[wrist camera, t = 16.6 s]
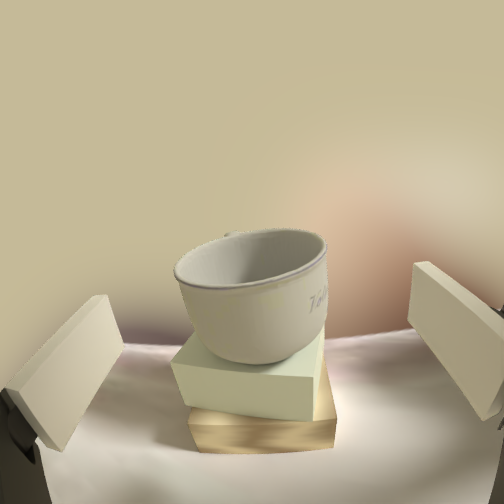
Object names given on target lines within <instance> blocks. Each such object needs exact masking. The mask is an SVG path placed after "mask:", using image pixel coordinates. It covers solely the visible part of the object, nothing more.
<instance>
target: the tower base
mask: <svg viewBox="0 0 504 504" xmlns="http://www.w3.org/2000/svg"><path fill="white" fill-rule="evenodd" d="M336 424H337V415H336V410H335V405H334V400H333V396H332V391H331V386H330V382H329V377H328V372H327V368H326V364H325V359H324V355H323V357H322V365H321V373H320V380H319V387H318V393H317V400H316V406H315V412H314V418H313V422H307V421H291V420H279V419H269V418H260V417H251V416H244V415H237V414H230V413H224V412H218V411H212V410H207V409H201V408H196V407H192V409H191V412H190V416H189V419H188V422H187V425H188V427H189V429H190V432H191V434H192V436H193V439H194V441H195V443H196V445H197V448H198V450H199V452H200V453H219V454H269V453H287V452H300V451H311V450H320V449H328V448H333V447H334V440H335V432H336Z"/></svg>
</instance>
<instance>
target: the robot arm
mask: <svg viewBox="0 0 504 504" xmlns="http://www.w3.org/2000/svg"><path fill="white" fill-rule="evenodd" d="M408 321H409V322H410V324H411V325H412V326H413V327H414V329H415V330H416V331H417V333H418V334H419V335H420V336H421V338H422V339H423V340H424V341H425V343H426V344H427V345H428V347H429V348H430V349H431V350H432V352H433V353H434V354H435V356H436V357H437V358H438V360H439V361H440V362H441V364H442V365H443V366H444V368H445V369H446V370H447V372H448V373H449V374H450V376H451V377H452V379H453V380H454V381H455V383H456V384H457V386H458V387H459V388H460V390H461V391H462V393H463V394H464V395H465V397H466V398H467V400H468V401H469V403H470V404H471V406H472V407H473V409H474V410H475V412H476V413H477V415H478V416H479V418H480V419H481V421H482V422H483V421H485V420H487V419H489V418H491V417H493V416H495V415H497V414H498V413H499V412H500V410H501V408H502V407H503V405H504V305H503V307H502V309H501V310H500V311H498V310H496V309H494V308H492V307H489V306H487V305H486V304H485V303H483V302H482V301H481V300H480V299H478V298H477V297H476V296H475V295H473V294H472V293H471V292H469V291H468V290H467V289H465V288H464V287H463V286H462V285H460V284H459V283H457V282H456V281H455V280H454V279H452V278H451V277H449V276H448V275H446V274H445V273H444V272H442V271H441V270H440V269H438V268H437V267H436V266H434V265H433V264H431V263H430V262H429V261H426V262H418V263H413V275H412V286H411V296H410V305H409V313H408ZM124 348H125V346H124V343H123V341H122V338H121V335H120V332H119V329H118V327H117V324H116V321H115V318H114V315H113V312H112V309H111V306H110V303H109V299H108V296H107V295H95V296H93V297H91V298H90V299H89V300H88V301H87V302H86V303H85V304H84V305H83V306H82V307H81V308H80V309H79V310H78V311H77V312H76V313H75V314H74V315H73V316H72V317H71V318H70V319H69V320H68V321H67V322H66V323H64V324H63V325H62V327H60V328H59V329H58V330H57V332H55V333H54V335H53V336H52V337H51V338H50V339H49V340H48V341H47V342H46V343H45V344H44V345H43V346H42V347H41V348H40V349H39V350H38V351H37V352H36V353H35V354H34V355H33V357H32V358H31V359H29V361H28V362H27V363H26V364H25V365H24V366H23V367H22V368H21V369H20V370H19V372H18V373H17V374H16V375H15V376H14V377H13V378H12V379H11V380H10V381H9V383H8V384H7V385H6V386H5V387H4V389H3V390H2V391H1V392H0V504H52V502H51V498H50V495H49V491H48V487H47V483H46V479H45V475H44V470H43V466H42V461H41V456H40V450H39V447H38V445H37V444H36V443H35V440H36V438H37V436H38V437H39V438H40V439H41V441H42V442H43V443H44V444H45V446H46V447H48V448H51V449H54V450H57V451H60V452H63V450H64V448H65V446H66V444H67V443H68V441H69V439H70V437H71V435H72V434H73V432H74V430H75V428H76V427H77V425H78V423H79V421H80V420H81V418H82V416H83V415H84V413H85V411H86V409H87V408H88V406H89V404H90V403H91V401H92V399H93V398H94V396H95V394H96V393H97V391H98V389H99V388H100V386H101V384H102V383H103V381H104V379H105V378H106V376H107V375H108V373H109V371H110V370H111V368H112V367H113V365H114V363H115V362H116V360H117V359H118V357H119V355H120V354H121V352H122V351H123V349H124ZM503 425H504V418H503V420H502V421H501V423H500V425H499V427H498V430H501V428H502V427H503ZM488 504H504V439H503V445H502V451H501V456H500V461H499V466H498V470H497V474H496V478H495V482H494V486H493V490H492V493H491V496H490V500H489V503H488Z"/></svg>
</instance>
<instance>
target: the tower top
mask: <svg viewBox="0 0 504 504" xmlns="http://www.w3.org/2000/svg"><path fill="white" fill-rule="evenodd" d="M323 349H324V325H323V327H322V329H321V331H320V333H319V334H318V335H317V336H316V338H315V339H314V340H313V341H312V342H311V343H310V344H309V345H307V346H306V347H305V348H303V349H302V350H300V351H299V352H297V353H295V354H293V355H292V356H290V357H288V358H286V359H284V360H281V361H278V362H274V363H270V364H262V365H252V364H244V363H239V362H233V361H230V360H226V359H224V358H222V357H219V356H218V355H216V354H214V353H213V352H211V351H210V350H209V349H207V348H206V346H205V345H204V344H203V343H202V342H201V340H200V339H199V337H198V336H197V334H196V332H194V333H193V334H192V335H191V337H190V338H189V339H188V340H187V342H186V343H185V344H184V345H183V347H182V348H181V349H180V350H179V352H178V353H177V354H176V355H175V357H174V358H173V359H172V360H171V362H170V364H171V367H172V370H173V373H174V376H175V379H176V382H177V384H178V387H179V390H180V393H181V395H182V398H183V401H184V404H185V405H187V406H191V407H196V408H201V409H207V410H212V411H218V412H224V413H230V414H237V415H244V416H251V417H260V418H269V419H279V420H291V421H307V422H313V418H314V412H315V406H316V400H317V393H318V387H319V380H320V373H321V365H322V357H323Z"/></svg>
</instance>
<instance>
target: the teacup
mask: <svg viewBox="0 0 504 504" xmlns="http://www.w3.org/2000/svg"><path fill="white" fill-rule="evenodd" d="M326 253H327V244H326V241H325V240H324V239H323V238H322V237H321V236H320V235H318V234H316V233H313V232H310V231H305V230H301V229H287V228H281V229H275V228H274V229H263V230H255V231H249V232H244V233H240V232H239V231H232V232H228V233H226V234H225V236H224V237H222V238H219V239H216V240H212V241H211V242H208V243H205V244H203V245H200V246H199V247H196V248H194V249H193V250H191V251H190V252H188V253H186V254H185V255H184V256H183V257H181V259H179V260H178V262H177V263H176V264H175V267H174V276H175V278H176V280H177V281H178V282H179V286H180V289H181V293H182V296H183V300H184V303H185V306H186V309H187V312H188V314H189V317H190V320H191V322H192V325H193V327H194V329H195V332H196V334H197V336H198V337H199V339H200V340H201V342H202V343H203V344H204V345H205V346H206V348H207V349H209V350H210V351H211V352H213V353H214V354H216V355H218V356H219V357H222V358H224V359H226V360H230V361H233V362H239V363H244V364H252V365H262V364H270V363H274V362H278V361H281V360H284V359H286V358H288V357H290V356H292V355H293V354H295V353H297V352H299V351H300V350H302V349H303V348H305V347H306V346H307V345H309V344H310V343H311V342H312V341H313V340H314V339H315V338H316V336H317V335H318V334H319V333H320V331H321V329H322V327H323V325H324V323H325V320H326V316H327V310H328V277H327V276H328V275H327V263H326Z"/></svg>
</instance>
